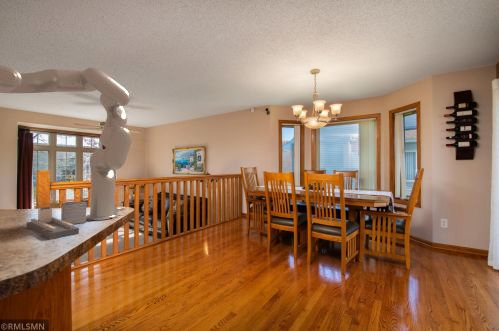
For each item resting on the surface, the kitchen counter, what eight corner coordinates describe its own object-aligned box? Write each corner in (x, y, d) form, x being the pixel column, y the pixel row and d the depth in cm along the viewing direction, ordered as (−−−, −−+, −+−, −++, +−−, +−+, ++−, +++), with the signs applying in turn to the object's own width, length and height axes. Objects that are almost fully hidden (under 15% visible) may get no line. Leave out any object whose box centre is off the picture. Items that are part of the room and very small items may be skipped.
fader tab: (48, 220, 90) (49, 206, 90) (51, 221, 88) (52, 207, 88) (37, 222, 87) (38, 207, 87) (40, 223, 85) (41, 208, 85)
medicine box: (84, 220, 99) (84, 201, 99) (86, 222, 96) (86, 202, 96) (60, 223, 93) (61, 202, 93) (62, 226, 90) (62, 204, 90)
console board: (52, 223, 93) (53, 215, 93) (78, 233, 81) (79, 224, 81) (26, 227, 87) (26, 218, 87) (50, 239, 74) (50, 229, 74)
